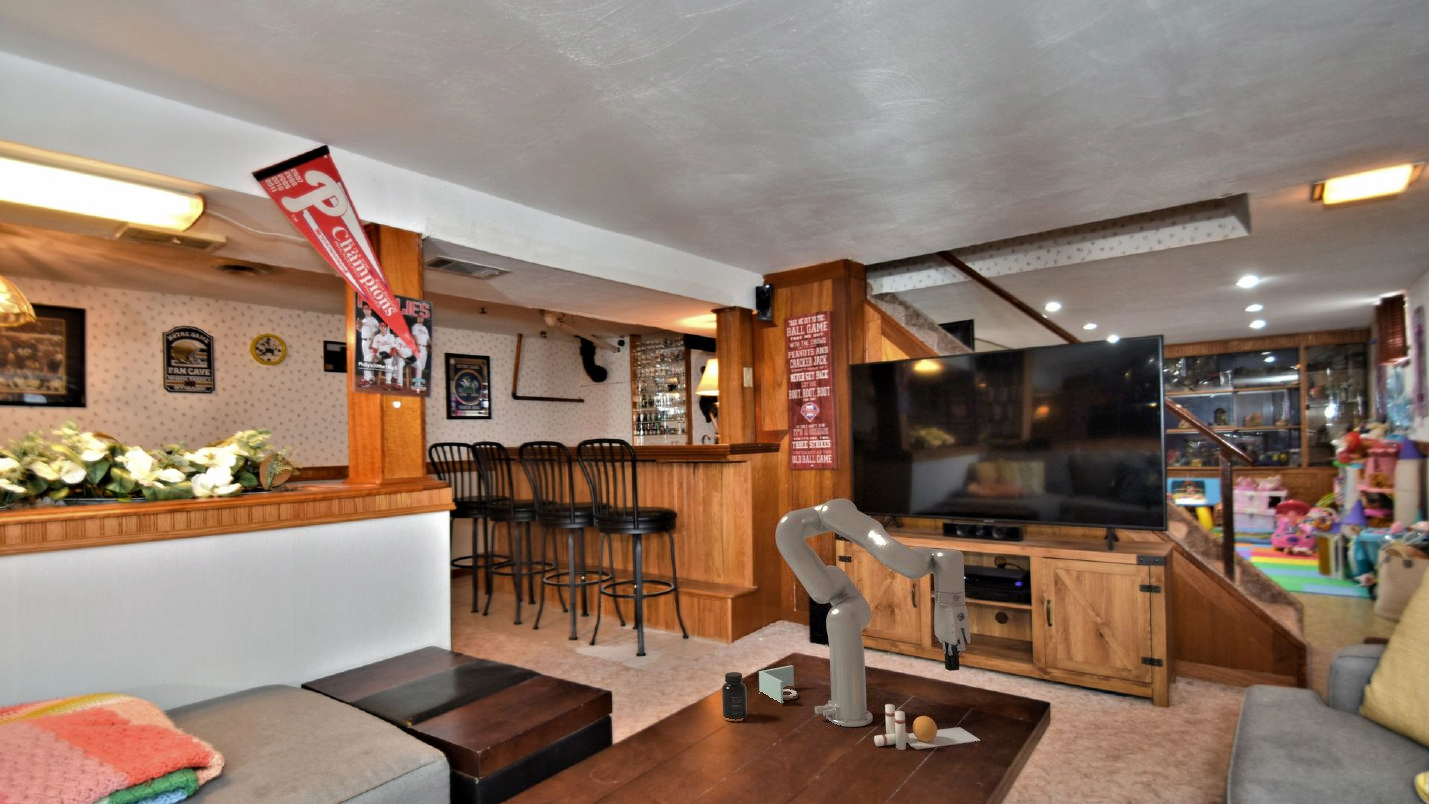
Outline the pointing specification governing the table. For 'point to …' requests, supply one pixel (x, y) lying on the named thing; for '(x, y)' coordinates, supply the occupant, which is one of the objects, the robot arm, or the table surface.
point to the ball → (924, 728)
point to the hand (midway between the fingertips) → (952, 669)
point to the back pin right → (900, 730)
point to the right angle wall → (777, 682)
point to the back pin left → (890, 718)
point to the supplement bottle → (734, 696)
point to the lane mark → (943, 738)
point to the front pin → (888, 739)
